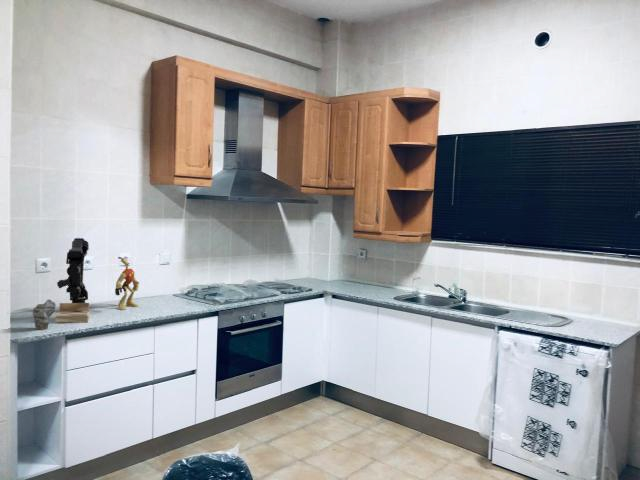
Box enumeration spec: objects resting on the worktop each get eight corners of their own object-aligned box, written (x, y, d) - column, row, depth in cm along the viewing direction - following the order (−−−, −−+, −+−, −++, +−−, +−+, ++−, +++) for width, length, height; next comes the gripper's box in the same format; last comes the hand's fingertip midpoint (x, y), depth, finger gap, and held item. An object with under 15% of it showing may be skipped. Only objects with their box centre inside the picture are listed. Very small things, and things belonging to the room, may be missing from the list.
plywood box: (58, 319, 278) (58, 311, 278) (89, 318, 283) (89, 310, 283) (55, 323, 269) (55, 315, 268) (87, 322, 274) (87, 314, 273)
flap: (59, 311, 278) (59, 311, 279) (88, 310, 283) (88, 310, 283) (59, 303, 279) (59, 303, 279) (88, 302, 283) (88, 302, 284)
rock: (31, 327, 259) (31, 296, 258) (43, 325, 264) (43, 295, 263) (43, 331, 252) (43, 300, 251) (55, 329, 256) (55, 299, 255)
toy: (120, 312, 299) (121, 259, 297) (107, 311, 301) (107, 258, 299) (142, 305, 322) (143, 255, 320) (129, 304, 324) (130, 255, 321)
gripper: (60, 271, 288) (60, 300, 289) (55, 276, 271) (55, 306, 272) (83, 271, 292) (83, 299, 293) (79, 276, 274) (79, 306, 275)
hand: (74, 303), depth 283 cm, fingers closed
